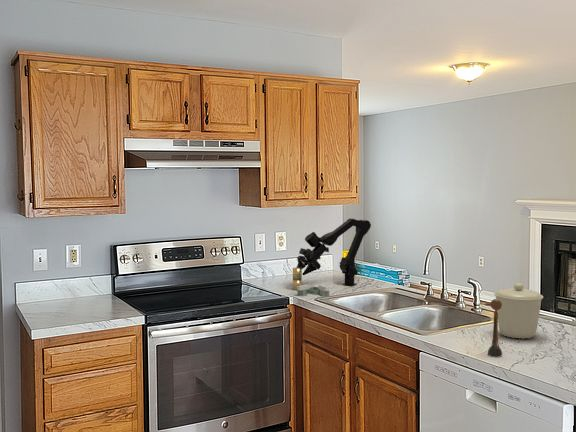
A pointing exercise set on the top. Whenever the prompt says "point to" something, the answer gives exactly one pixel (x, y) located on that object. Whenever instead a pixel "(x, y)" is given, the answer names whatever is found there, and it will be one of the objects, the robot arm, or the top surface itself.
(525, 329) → the canister
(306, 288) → the shaft bench
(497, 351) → the wooden tabletop sculpture
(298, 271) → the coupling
